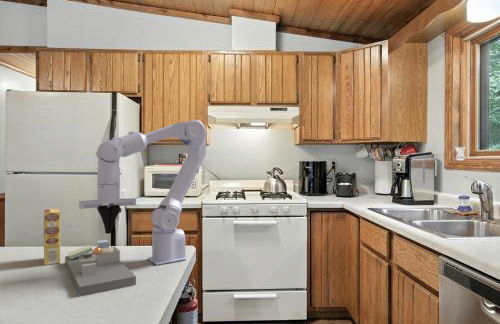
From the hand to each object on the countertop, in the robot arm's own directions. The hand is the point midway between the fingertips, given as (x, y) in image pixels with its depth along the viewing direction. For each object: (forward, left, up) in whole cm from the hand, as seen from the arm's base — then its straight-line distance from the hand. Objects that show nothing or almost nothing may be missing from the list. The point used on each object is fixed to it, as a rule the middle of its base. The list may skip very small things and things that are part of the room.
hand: (108, 232), depth 89 cm
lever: (+6, +7, -7) cm, 12 cm away
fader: (0, -9, -8) cm, 12 cm away
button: (0, -1, -7) cm, 8 cm away
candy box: (+12, -18, -10) cm, 24 cm away
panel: (+3, +2, -10) cm, 11 cm away
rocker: (+6, -9, -6) cm, 13 cm away
